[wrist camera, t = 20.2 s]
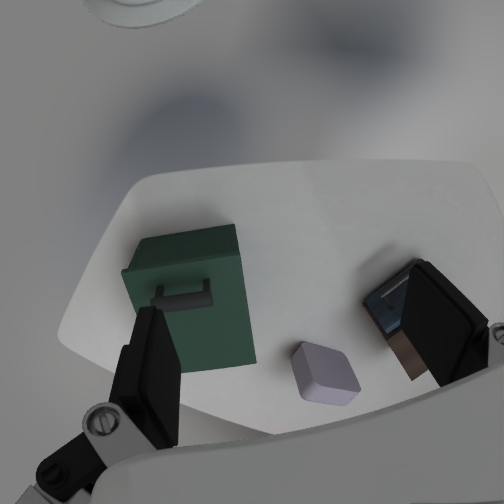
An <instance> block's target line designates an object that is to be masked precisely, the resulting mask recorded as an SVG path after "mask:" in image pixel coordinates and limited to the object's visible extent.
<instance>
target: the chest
mask: <svg viewBox="0 0 504 504" xmlns="http://www.w3.org/2000/svg"><path fill="white" fill-rule="evenodd" d="M237 251H239V246H238V240H237V235H236V229H235V224H231V225H225V226H218V227H212V228H206V229H199V230H193V231H187V232H181V233H175V234H169V235H163V236H157V237H151V238H145V239H141V241H140V243H139V245H138V247H137V249H136V251H135V254H134V256H133V258H132V260H131V262H130V265H129V267H128V268H134V267H140V266H147V265H153V264H160V263H166V262H172V261H179V260H185V259H192V258H198V257H205V256H211V255H218V254H224V253H231V252H237Z"/></svg>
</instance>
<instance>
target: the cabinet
mask: <svg viewBox="0 0 504 504" xmlns="http://www.w3.org/2000/svg"><path fill="white" fill-rule="evenodd" d="M421 260H422V261H423V262H425V261H424V260H423V259H421ZM362 304H363V305H364V307H365V309H366V310H367V312H368V313H369V315H370V316H371V318H372V319H373V321H374V322H375V324H376V325H377V327H378V329H379V330H380V332H381V333H382V335H383V336H384V338H385V340H386V341H387V343H388V344H389V346H390V347H391V349H392V351H393V352H394V354H395V355H396V357H397V358H398V360H399V361H400V363H401V365H402V366H403V368H404V369H405V371H406V373H407V374H408V376H409V377H410V379H411V381H413V380H414V379H416V378H417V377H419V376H420V375H421V374H423V373H424V372H426V371H427V370H428V368H427V366H426V365H425V363H424V362H423V360H422V359H421V357H420V356H419V354H418V353H417V351H416V350H415V348H414V347H413V345H412V344H411V343H410V341H409V340H408V338H407V337H406V335H405V334H404V332H403V331H402V329H401V327H399V328H397V329H396V330H394V331H393V332H392V333H389V334H386V332H385V330H384V329H383V327H382V326H381V324H380V323H379V321H378V320H377V318H376V317H375V315H374V314H373V312H372V311H371V309H370V308H369V306H368V305H367V303H366V302H364V303H362Z"/></svg>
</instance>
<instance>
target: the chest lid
mask: <svg viewBox="0 0 504 504" xmlns="http://www.w3.org/2000/svg"><path fill="white" fill-rule="evenodd" d="M121 275H122V278H123V281H124V283H125V286H126V289H127V291H128V294H129V296H130V299H131V302H132V304H133V307H134V309H135V312H136V314H138V310H139V308H140V307H144V306H153V305H155V306H156V307H157V309H162V311H163V313H164V316H165V319H166V323H167V326H168V329H169V331H170V334H171V337H172V340H173V343H174V346H175V349H176V352H177V354H178V357H179V360H180V364H181V373H187V372H196V371H205V370H213V369H221V368H228V367H235V366H242V365H249V364H255V363H257V362H256V355H255V349H254V343H253V336H252V330H251V323H250V317H249V310H248V304H247V297H246V290H245V284H244V277H243V270H242V264H241V257H240V252H239V251H237V252H231V253H224V254H218V255H211V256H205V257H198V258H192V259H185V260H179V261H172V262H166V263H160V264H153V265H147V266H140V267H134V268H127V269H122V271H121Z"/></svg>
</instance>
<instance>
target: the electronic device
mask: <svg viewBox="0 0 504 504" xmlns="http://www.w3.org/2000/svg"><path fill="white" fill-rule="evenodd" d="M291 365H292V368H293V372H294V375H295V379H296V382H297V386H298V389H299V393H300V396H301V397H302V398H303V399H304V400H307V401H312V402H318V403H324V404H331V405H338V406H345V405H347V404H348V403H349V402H350V401H351V400H352V399H353V398H354V397H355V396H356V395H357V394H358V393H359V392H360V391H361V387H360V385H359V383H358V380H357V378H356V376H355V374H354V372H353V370H352V367H351V365H350V363H349V361H348V359H347V357H346V356H345V355H344V354H343V353H342V352H339V351H336V350H332V349H329V348H325V347H322V346H318V345H315V344H311V343H308V342H303V343H302V344H301V346H300V347H299V348H298V350H297V351H296V352H295V353H294V355H293V356H292V358H291Z"/></svg>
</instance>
